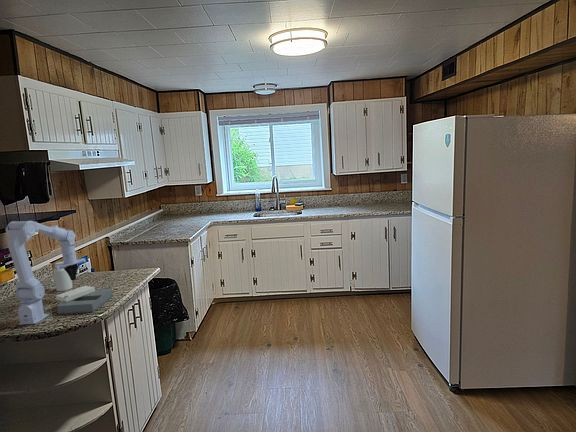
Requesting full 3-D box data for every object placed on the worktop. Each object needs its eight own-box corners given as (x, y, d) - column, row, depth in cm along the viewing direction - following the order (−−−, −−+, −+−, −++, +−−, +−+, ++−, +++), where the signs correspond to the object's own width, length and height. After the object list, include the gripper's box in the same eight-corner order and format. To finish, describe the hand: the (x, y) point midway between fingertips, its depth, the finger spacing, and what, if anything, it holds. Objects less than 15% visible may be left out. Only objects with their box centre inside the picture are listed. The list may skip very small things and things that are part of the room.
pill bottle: (64, 292, 207) (59, 265, 205) (52, 291, 210) (48, 264, 208) (76, 286, 215) (72, 260, 212) (65, 286, 217) (60, 260, 215)
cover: (95, 291, 192) (94, 286, 192) (66, 302, 180) (65, 297, 179) (85, 289, 196) (84, 284, 196) (56, 299, 184) (55, 294, 183)
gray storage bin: (93, 312, 176) (92, 303, 176) (58, 314, 177) (57, 306, 176) (113, 295, 196) (112, 288, 195) (81, 297, 196) (80, 290, 196)
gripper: (78, 249, 202) (82, 274, 204) (49, 257, 189) (54, 283, 192) (86, 250, 198) (90, 276, 200) (57, 258, 186) (62, 285, 188)
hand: (73, 279), depth 196 cm, fingers closed
